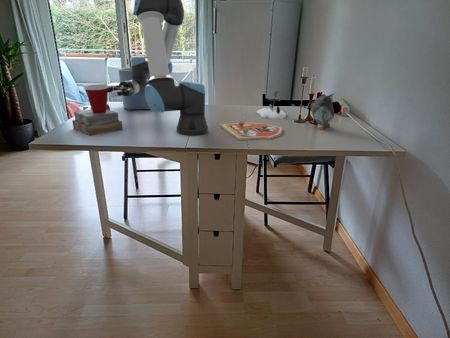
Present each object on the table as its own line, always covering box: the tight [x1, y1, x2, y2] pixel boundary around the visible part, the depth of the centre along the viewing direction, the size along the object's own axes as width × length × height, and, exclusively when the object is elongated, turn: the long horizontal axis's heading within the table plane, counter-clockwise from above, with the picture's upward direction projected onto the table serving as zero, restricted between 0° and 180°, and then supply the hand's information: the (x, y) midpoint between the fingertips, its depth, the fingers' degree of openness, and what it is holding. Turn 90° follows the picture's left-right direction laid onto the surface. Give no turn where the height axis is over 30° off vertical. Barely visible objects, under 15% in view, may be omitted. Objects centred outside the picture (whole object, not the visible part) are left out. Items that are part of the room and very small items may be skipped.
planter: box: [117, 67, 151, 111], centre depth 191 cm, size 23×23×24 cm
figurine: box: [256, 89, 287, 120], centre depth 185 cm, size 20×18×16 cm
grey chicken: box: [310, 93, 336, 131], centre depth 158 cm, size 14×15×18 cm
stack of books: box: [71, 109, 124, 137], centre depth 142 cm, size 16×16×8 cm
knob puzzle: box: [218, 120, 283, 141], centre depth 151 cm, size 29×30×4 cm
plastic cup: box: [83, 84, 110, 113], centre depth 139 cm, size 11×11×12 cm
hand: (99, 93), depth 141 cm, fingers open, 13 cm apart
